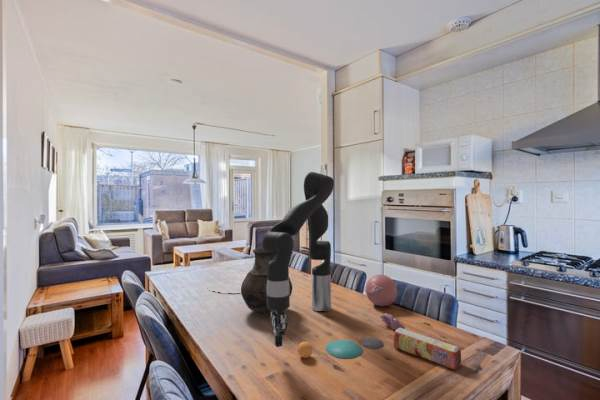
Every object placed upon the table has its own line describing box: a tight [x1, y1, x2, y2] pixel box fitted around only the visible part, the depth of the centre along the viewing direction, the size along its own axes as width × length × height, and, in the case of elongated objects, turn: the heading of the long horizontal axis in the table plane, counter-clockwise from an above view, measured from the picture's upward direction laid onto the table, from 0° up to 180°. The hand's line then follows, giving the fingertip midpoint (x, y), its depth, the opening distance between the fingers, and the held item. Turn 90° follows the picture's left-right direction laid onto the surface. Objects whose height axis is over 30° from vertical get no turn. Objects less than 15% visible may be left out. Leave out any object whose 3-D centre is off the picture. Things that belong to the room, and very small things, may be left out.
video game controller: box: [380, 312, 406, 331], centre depth 124 cm, size 10×5×7 cm, turn 21°
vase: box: [240, 247, 293, 314], centre depth 143 cm, size 25×25×30 cm
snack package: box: [393, 328, 462, 371], centre depth 102 cm, size 21×7×7 cm, turn 45°
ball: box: [297, 341, 313, 359], centre depth 102 cm, size 5×5×5 cm
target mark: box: [325, 339, 363, 360], centre depth 107 cm, size 13×13×1 cm
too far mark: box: [361, 337, 385, 349], centre depth 111 cm, size 8×8×1 cm
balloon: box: [364, 274, 398, 307], centre depth 149 cm, size 15×20×15 cm
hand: (278, 345), depth 98 cm, fingers closed
